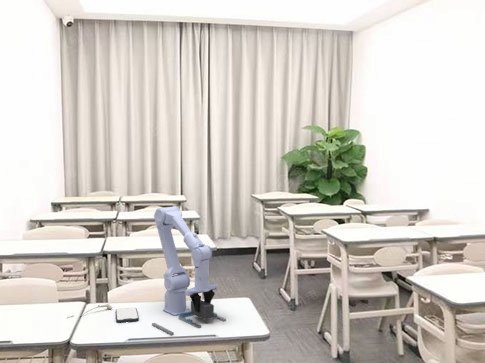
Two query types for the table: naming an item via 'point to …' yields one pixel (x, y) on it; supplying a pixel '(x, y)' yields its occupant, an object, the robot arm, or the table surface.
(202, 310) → the dark grey block
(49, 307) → the table surface
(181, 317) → the silver and blue frame
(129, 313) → the phone case
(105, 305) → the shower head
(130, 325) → the table surface
